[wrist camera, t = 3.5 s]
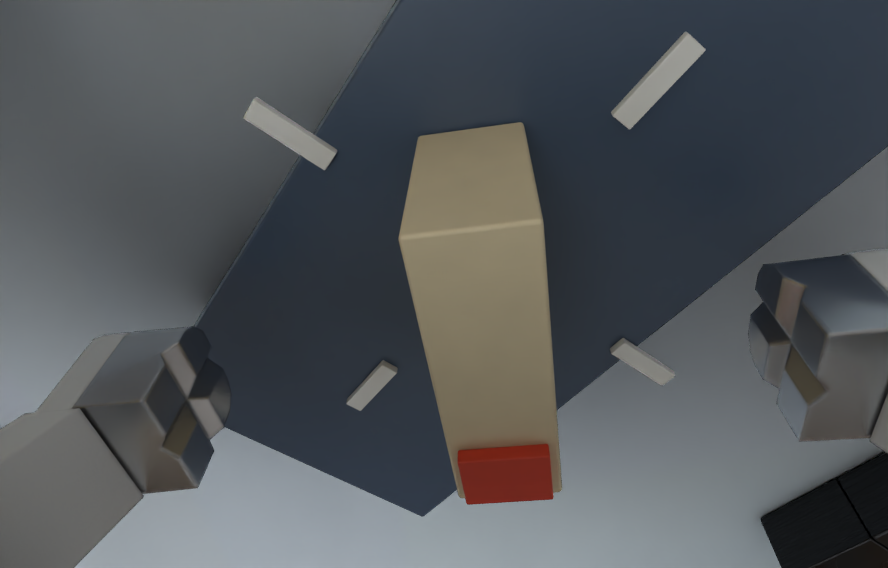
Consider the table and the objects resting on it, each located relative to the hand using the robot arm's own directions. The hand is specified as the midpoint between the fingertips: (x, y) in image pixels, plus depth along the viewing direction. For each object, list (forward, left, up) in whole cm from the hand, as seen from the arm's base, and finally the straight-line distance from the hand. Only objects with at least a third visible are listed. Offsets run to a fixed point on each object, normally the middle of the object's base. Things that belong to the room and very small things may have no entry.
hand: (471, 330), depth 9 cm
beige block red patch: (0, 0, -2) cm, 2 cm away
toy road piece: (0, 0, -5) cm, 5 cm away
